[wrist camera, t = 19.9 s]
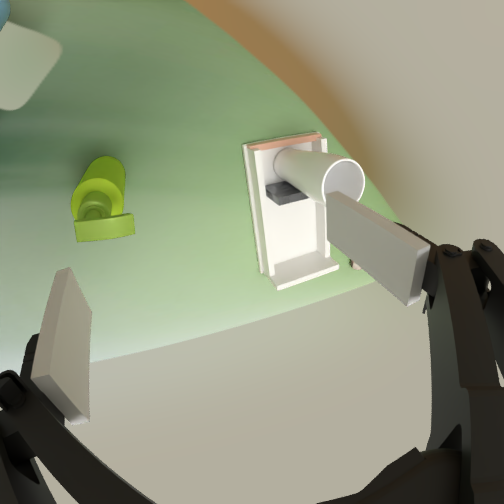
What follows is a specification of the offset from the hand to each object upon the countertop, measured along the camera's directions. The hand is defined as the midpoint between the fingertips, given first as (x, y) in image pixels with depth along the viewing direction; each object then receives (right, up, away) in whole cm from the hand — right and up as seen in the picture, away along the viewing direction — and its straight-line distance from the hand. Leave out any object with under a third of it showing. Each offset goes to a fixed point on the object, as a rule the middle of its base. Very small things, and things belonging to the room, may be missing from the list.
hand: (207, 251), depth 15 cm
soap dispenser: (-18, +11, +26) cm, 34 cm away
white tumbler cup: (+8, +14, +34) cm, 38 cm away
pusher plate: (+8, +11, +36) cm, 38 cm away
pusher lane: (+8, +8, +39) cm, 40 cm away
